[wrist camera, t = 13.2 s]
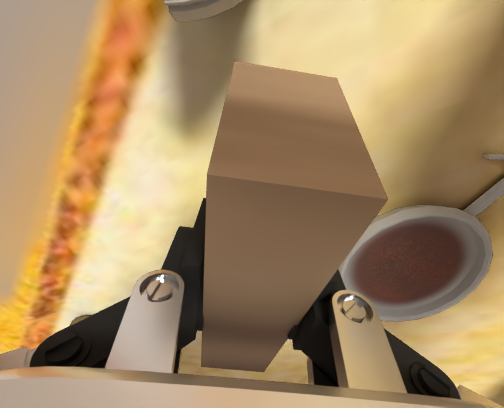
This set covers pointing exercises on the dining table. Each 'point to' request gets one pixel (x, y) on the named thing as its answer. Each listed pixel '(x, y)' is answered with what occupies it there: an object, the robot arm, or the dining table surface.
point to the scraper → (279, 209)
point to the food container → (198, 8)
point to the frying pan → (421, 257)
